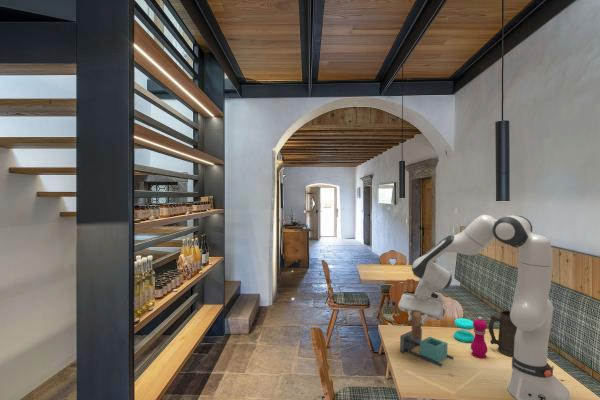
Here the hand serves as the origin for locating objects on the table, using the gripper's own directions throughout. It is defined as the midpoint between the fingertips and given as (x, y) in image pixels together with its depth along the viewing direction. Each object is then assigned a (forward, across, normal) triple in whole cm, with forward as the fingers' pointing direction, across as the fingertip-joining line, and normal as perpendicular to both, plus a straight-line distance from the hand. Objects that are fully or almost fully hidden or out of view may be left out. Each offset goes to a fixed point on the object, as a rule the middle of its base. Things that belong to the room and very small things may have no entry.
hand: (415, 322), depth 162 cm
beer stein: (-15, +29, +44) cm, 55 cm away
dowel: (+5, 0, +6) cm, 7 cm away
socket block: (+6, +4, +21) cm, 22 cm away
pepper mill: (-5, +20, +34) cm, 40 cm away
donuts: (-17, +9, +46) cm, 50 cm away
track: (+6, +1, +22) cm, 23 cm away
